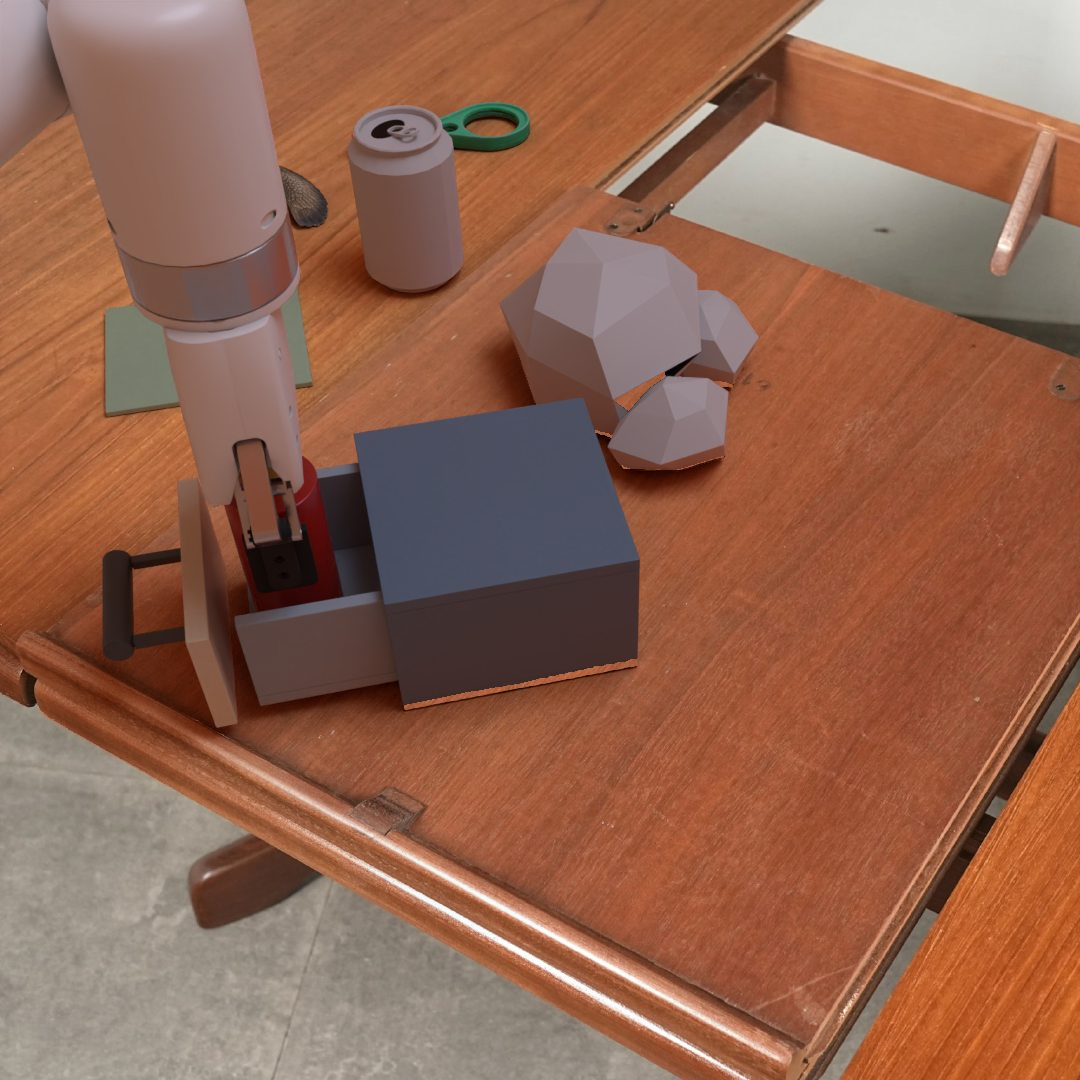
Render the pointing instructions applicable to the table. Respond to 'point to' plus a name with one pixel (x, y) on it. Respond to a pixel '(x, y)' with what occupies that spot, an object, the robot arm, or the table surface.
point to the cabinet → (499, 549)
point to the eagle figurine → (303, 199)
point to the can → (406, 198)
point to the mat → (144, 366)
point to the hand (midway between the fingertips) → (281, 533)
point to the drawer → (268, 636)
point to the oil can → (320, 542)
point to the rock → (631, 346)
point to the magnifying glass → (469, 140)
